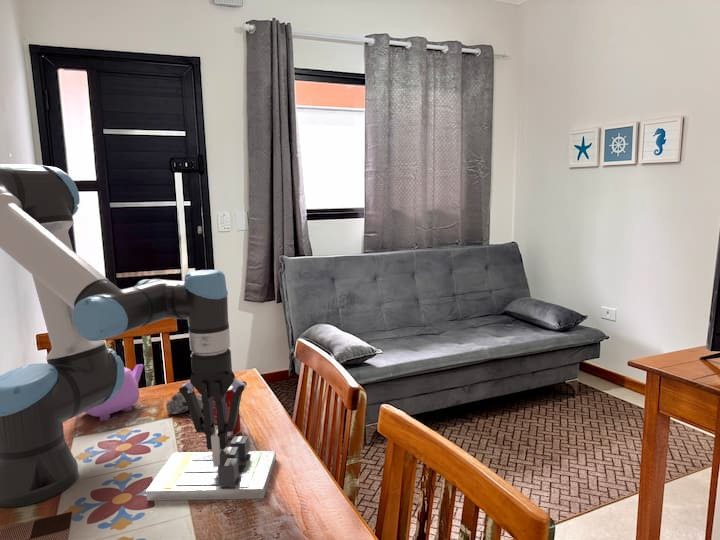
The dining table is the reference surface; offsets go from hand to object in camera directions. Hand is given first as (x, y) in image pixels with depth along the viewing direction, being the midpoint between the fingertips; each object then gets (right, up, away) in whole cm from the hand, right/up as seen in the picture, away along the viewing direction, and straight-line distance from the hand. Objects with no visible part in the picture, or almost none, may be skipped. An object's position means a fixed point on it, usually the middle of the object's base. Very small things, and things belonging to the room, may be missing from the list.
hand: (218, 463), depth 102 cm
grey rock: (-17, +1, +34) cm, 38 cm away
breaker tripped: (+2, -1, 0) cm, 2 cm away
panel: (-1, -3, +1) cm, 3 cm away
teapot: (-39, +1, +35) cm, 52 cm away
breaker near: (+3, -2, -4) cm, 6 cm away
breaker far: (+3, 0, +5) cm, 6 cm away
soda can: (-4, -1, +19) cm, 20 cm away
